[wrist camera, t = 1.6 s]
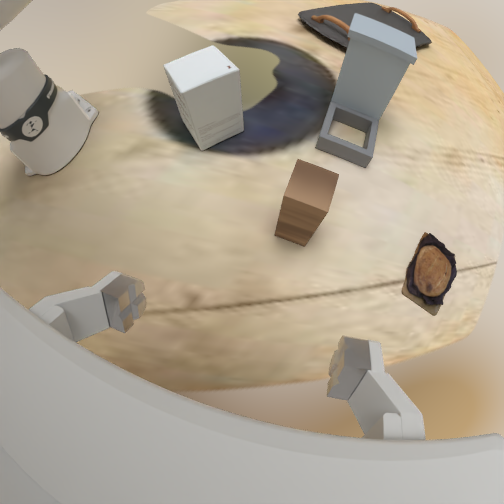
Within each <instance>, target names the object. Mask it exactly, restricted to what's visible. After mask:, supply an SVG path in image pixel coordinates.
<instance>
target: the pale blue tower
mask: <svg viewBox="0 0 504 504" xmlns="http://www.w3.org/2000/svg"><path fill="white" fill-rule="evenodd" d="M347 37H350V41H349V44H348V48H347V51H346V54H345V58H344V61H343V64H342V67H341V71H340V74H339V77H338V80H337V84H336V87H335V90H334V93H333V96H332V99H331V103H330V106H329V109H328V112H327V115H326V118H325V120H324V123H323V126H322V129H321V132H320V135H319V138H318V141H317V144H316V147H315V148H317V149H319V150H322V151H325V152H327V153H330V154H332V155H335V156H338V157H340V158H343V159H345V160H348V161H350V162H352V163H355V164H357V165H360V166H362V167H364V168H366V166H367V165H368V164H369V162H370V161H371V159H372V158H373V152H374V147H375V141H376V135H377V129H378V123H379V119H380V117H381V116H382V114H383V112H384V110H385V109H386V107H387V105H388V103H389V101H390V100H391V98H392V96H393V94H394V92H395V90H396V89H397V87H398V85H399V83H400V81H401V79H402V78H403V76H404V74H405V72H406V70H407V68H408V66H409V64H410V63H411V64H413V65H414V63H415V61H416V60H417V54H416V46H415V39H414V37H412V36H410V35H408V34H406V33H404V32H402V31H399V30H397V29H395V28H393V27H391V26H388V25H386V24H383V23H381V22H379V21H376V20H373V19H371V18H368V17H366V16H363V15H360V14H357V13H355V14H354V17H353V20H352V23H351V26H350V29H349V32H348V36H347ZM332 119H333V120H336V121H338V122H341V123H344V124H346V125H349V126H351V127H354V128H356V129H358V130H361V131H363V132H366V137H365V142H364V147H363V148H362V147H360V146H357V145H355V144H352V143H350V142H348V141H345V140H343V139H340V138H337V137H335V136H332V135H330V134H328V131H329V128H330V125H331V121H332Z"/></svg>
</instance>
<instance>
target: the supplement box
mask: <svg viewBox="0 0 504 504" xmlns="http://www.w3.org/2000/svg"><path fill="white" fill-rule="evenodd" d="M164 69H165V72H166V75H167V78H168V80H169V83H170V86H171V89H172V91H173V94H174V97H175V100H176V103H177V106H178V109H179V112H180V114H181V117H182V120H183V122H184V123H185V125H186V127H187V128H188V130H189V131H190V133H191V135H192V136H193V138H194V140H195V141H196V143H197V144H198V146H199V148H200V149H201V151H203V150H205V149H207V148H209V147H211V146H213V145H215V144H217V143H219V142H221V141H223V140H225V139H228V138H230V137H232V136H234V135H236V134H238V133H241V132H243V131H244V124H243V110H242V97H241V83H240V70H239V69H238V68H237V67H236V66H235V65H234V64H233V63H232V62H231V61H230V60H229V59H228V58H227V57H226V56H224V54H222V53H221V52H220V51H219V50H218V49H217V48H216V47H215V46H209V47H207V48H204V49H201V50H199V51H196V52H194V53H191V54H189V55H186V56H183V57H181V58H179V59H176V60H174V61H172V62H169V63H167V64H165V65H164Z"/></svg>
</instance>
